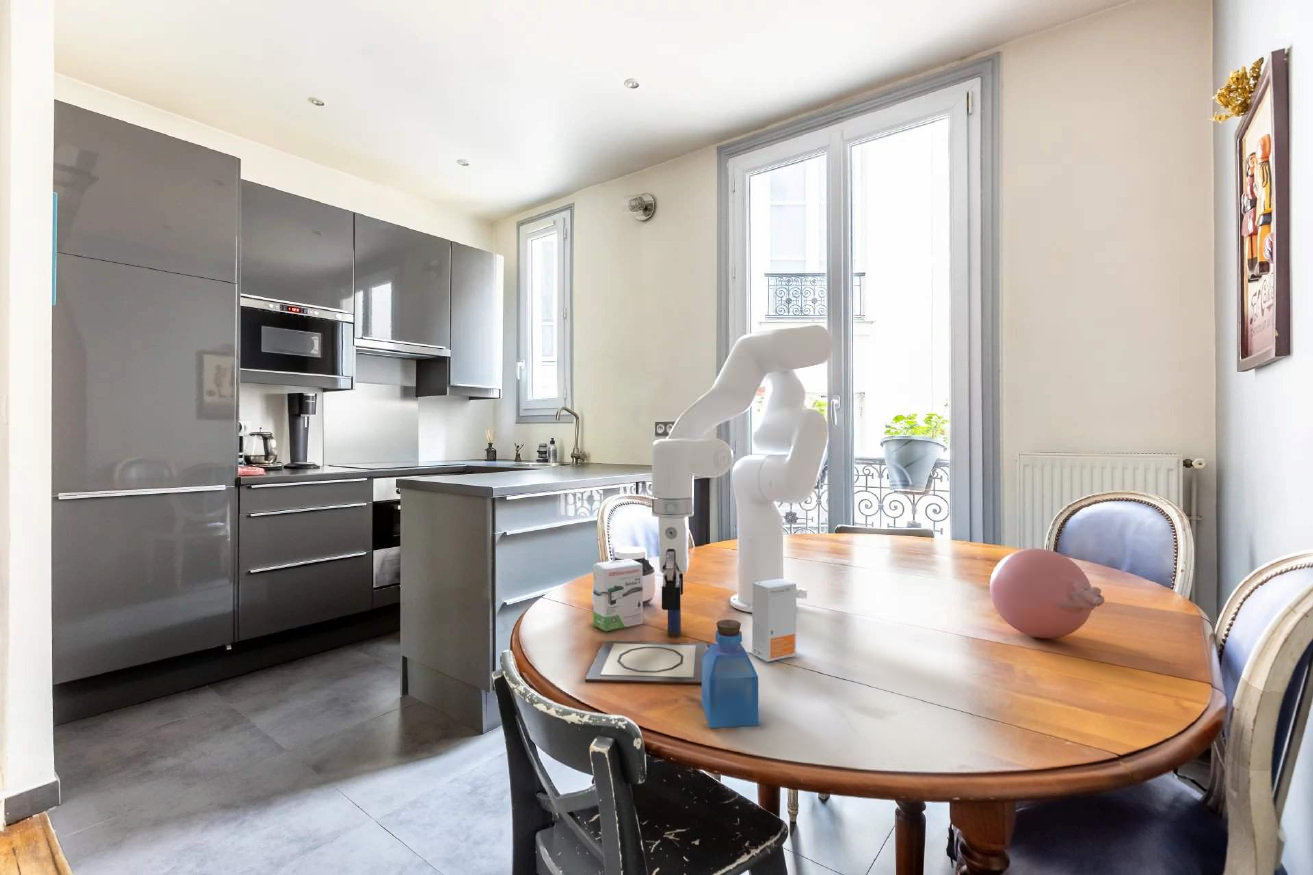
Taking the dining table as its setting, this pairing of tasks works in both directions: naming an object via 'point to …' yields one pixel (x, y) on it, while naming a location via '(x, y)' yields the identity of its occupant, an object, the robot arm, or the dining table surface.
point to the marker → (674, 620)
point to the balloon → (1042, 593)
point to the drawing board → (648, 662)
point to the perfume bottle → (729, 680)
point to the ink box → (617, 594)
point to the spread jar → (647, 569)
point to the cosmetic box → (774, 619)
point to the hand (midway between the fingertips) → (672, 601)
